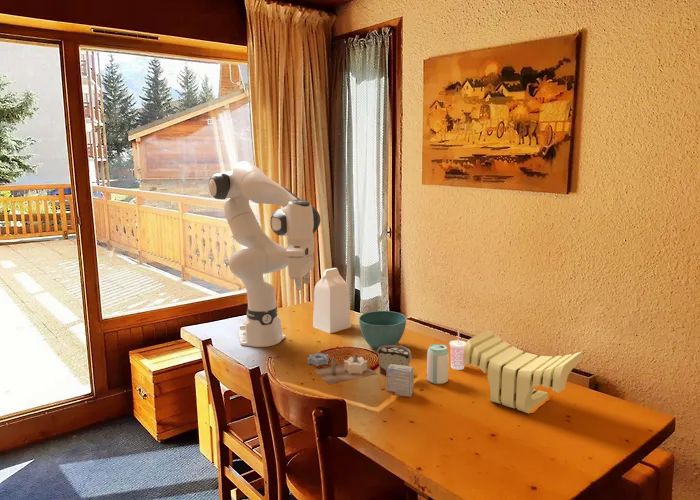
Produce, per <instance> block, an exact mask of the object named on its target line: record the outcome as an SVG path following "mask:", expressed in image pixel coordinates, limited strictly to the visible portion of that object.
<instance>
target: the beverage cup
mask: <svg viewBox="0 0 700 500" xmlns="http://www.w3.org/2000/svg"><path fill="white" fill-rule="evenodd" d="M466 343H467V341H465V340H464V341H463V340H460V329H457V339H456V340H451V341H449V347H450V350H449V352H450V353H449V354H450V367H451V368H452V369H453V370H457V371H458V370H459V371H460V370H464V369H465V365H463V354H464V348H465V345H466Z"/></svg>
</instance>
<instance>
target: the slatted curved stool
mask: <svg viewBox="0 0 700 500" xmlns="http://www.w3.org/2000/svg"><path fill="white" fill-rule="evenodd" d="M582 356H583V351H580V352H579V351H578V352H575V353H574V354H572V353H570V354H565V355H564V356H563V355H555V356H552V355H550V356H549V355H538V354H535V353H534V354H533V353H531V352H528V351H527V352H524V350H522V349H519V348H517V347H515V346H513V345H512V346H511V344H510V343H508V342H507V341H503V339H502V338H501V337H499V336H498V335H495V332H494V331H492V330H491V329H486V330H485V331H483V332H481V333H479V334H477V335H474V336H472V337H471V338H469V339H468V340H467V341H466V345H465V348H464V354H463V365H464V366H471V367H475V368H478V367H479V369H480V371H482V372H483V374H487V381H488V386H489V390H490V400H489V401H491V402H493V403H496V404H500V405H503V406H505V407H508V408H511V409H514V410H517V411H521V412H523V413H526V414H529V412H530V411H531V410H533V409H534V408H535V407H536V406H538V405H539V404H540V403H542V402H543V401H544V400H546V399H547V398H548V397H549V398H550V396H549V394H548V393H549V392H546V391H543V390H539V389H538V390H537V389H536V387H540V386H541V385H542V388H546V389H552V391H553V392H556V394H560V393H561V392H562V391H564V390H565V389H566V385H567V384H566V383H567V382H568V381H567V380H568V377H569V376H570V373H572V370H573V369H574V368H575V367H576V366H577V365H578V364H579V363H581V361H582V358H583V357H582ZM501 403H502V404H501ZM515 408H517V409H515Z"/></svg>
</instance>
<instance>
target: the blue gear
mask: <svg viewBox="0 0 700 500" xmlns="http://www.w3.org/2000/svg"><path fill="white" fill-rule="evenodd" d="M329 361H330V355H329V354H325V353H322V352H317V353H313V354H311V353H310V354H308V357H307V364H308V365H312V366H315V367H319V366H323V365H326V366H327V365H329Z"/></svg>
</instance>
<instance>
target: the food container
mask: <svg viewBox="0 0 700 500" xmlns="http://www.w3.org/2000/svg"><path fill="white" fill-rule="evenodd" d="M376 355H378V357H377V358H378V365H379V374H381V375H385V376H387V370H386V369H387V368H388V367H389V365H390V364H394V365H403V366H410V361H411V360H412V358H413V356H412V351H411V350H410V349H409V348H407V347H406V346H403V345H398V344H397V345H387V346H382V347H380V348H378V350H376Z"/></svg>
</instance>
